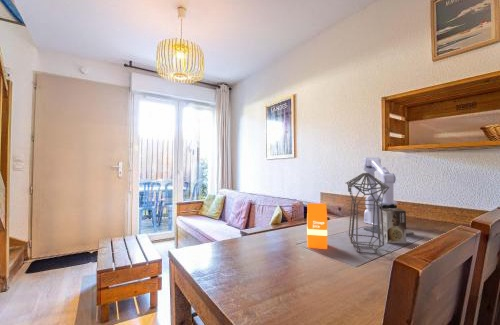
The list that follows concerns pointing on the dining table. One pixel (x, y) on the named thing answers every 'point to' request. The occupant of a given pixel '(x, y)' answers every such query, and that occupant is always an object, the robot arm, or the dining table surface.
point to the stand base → (381, 230)
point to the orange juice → (316, 226)
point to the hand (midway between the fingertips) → (387, 217)
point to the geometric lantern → (366, 204)
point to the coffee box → (394, 225)
